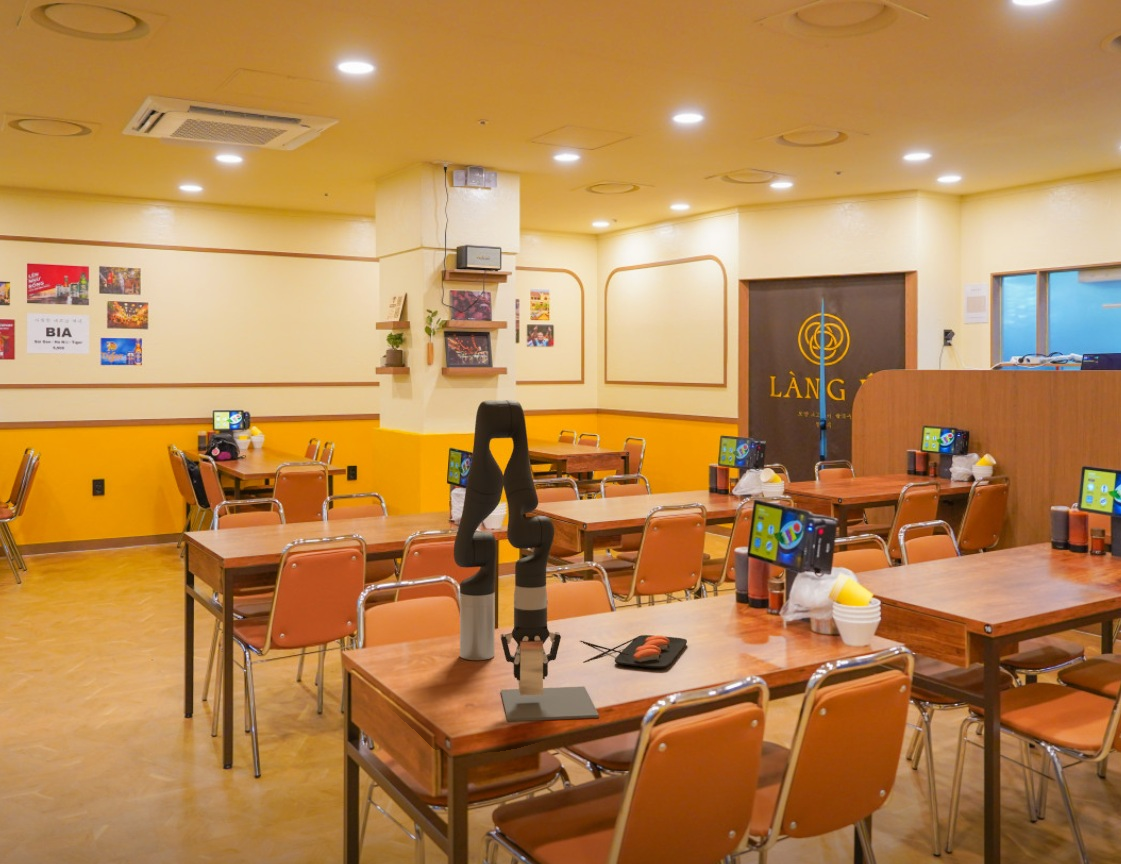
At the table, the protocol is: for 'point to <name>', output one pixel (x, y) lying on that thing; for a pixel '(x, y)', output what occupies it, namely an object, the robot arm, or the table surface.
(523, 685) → the birch block
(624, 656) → the sushi plate
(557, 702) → the slate mat
